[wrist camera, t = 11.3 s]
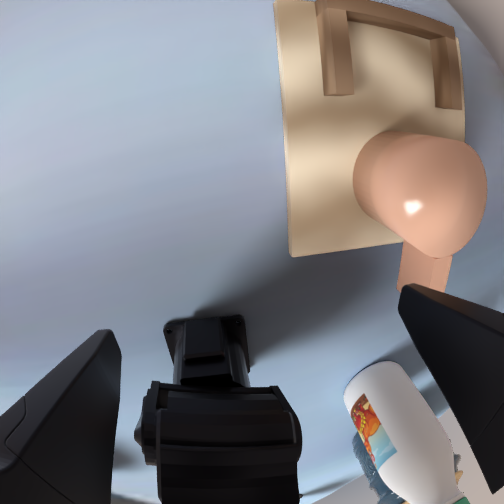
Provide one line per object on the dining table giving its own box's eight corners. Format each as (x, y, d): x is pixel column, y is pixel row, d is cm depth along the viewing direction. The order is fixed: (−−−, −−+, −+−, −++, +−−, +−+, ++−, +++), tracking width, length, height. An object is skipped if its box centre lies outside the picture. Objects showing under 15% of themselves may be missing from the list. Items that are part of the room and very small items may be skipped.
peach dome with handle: (352, 128, 18) (410, 135, 12) (429, 133, 19) (490, 145, 13) (347, 275, 23) (389, 324, 17) (417, 262, 24) (464, 300, 18)
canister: (435, 404, 38) (486, 481, 22) (377, 451, 41) (414, 528, 25) (402, 389, 33) (466, 491, 17) (333, 445, 36) (372, 544, 20)
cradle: (449, 230, 24) (470, 242, 21) (288, 251, 22) (300, 270, 20) (450, 39, 17) (473, 35, 14) (273, 4, 15) (284, -13, 12)
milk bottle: (368, 354, 29) (464, 513, 10) (411, 362, 31) (498, 488, 13) (328, 402, 31) (393, 552, 13) (373, 405, 33) (438, 528, 15)
